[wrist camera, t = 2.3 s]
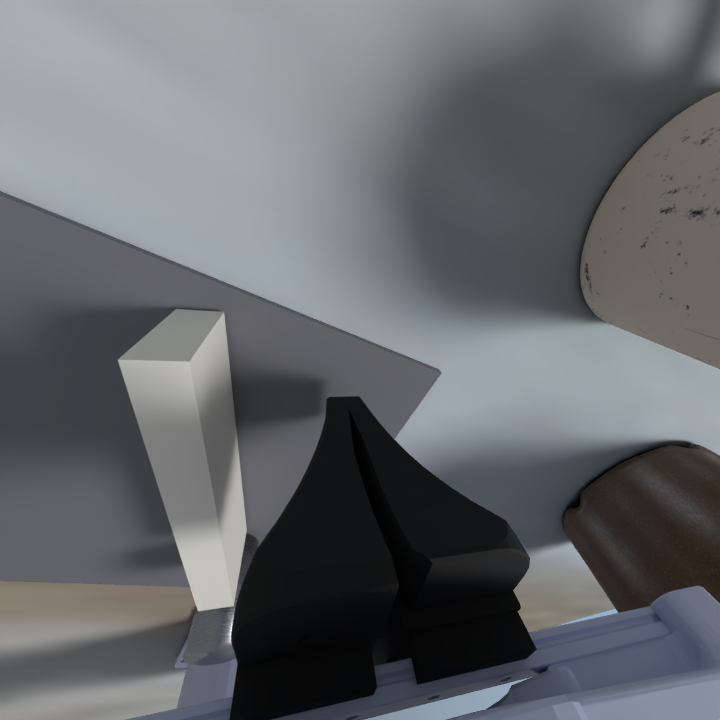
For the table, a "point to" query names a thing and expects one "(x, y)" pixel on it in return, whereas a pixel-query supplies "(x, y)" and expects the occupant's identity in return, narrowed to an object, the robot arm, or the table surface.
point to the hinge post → (217, 623)
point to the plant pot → (651, 526)
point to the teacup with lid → (663, 239)
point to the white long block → (193, 445)
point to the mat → (114, 408)
